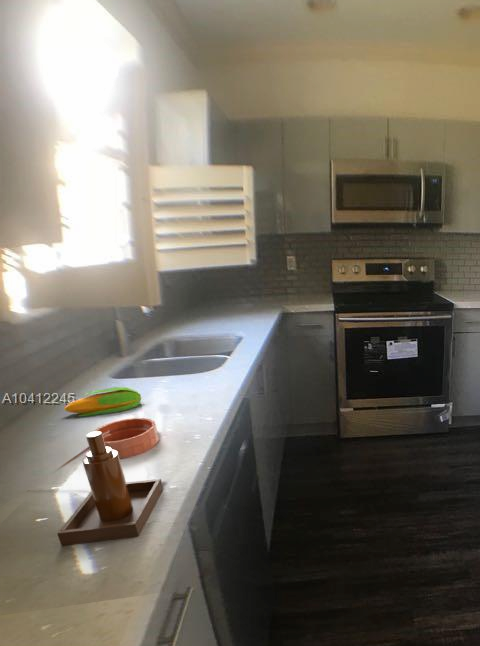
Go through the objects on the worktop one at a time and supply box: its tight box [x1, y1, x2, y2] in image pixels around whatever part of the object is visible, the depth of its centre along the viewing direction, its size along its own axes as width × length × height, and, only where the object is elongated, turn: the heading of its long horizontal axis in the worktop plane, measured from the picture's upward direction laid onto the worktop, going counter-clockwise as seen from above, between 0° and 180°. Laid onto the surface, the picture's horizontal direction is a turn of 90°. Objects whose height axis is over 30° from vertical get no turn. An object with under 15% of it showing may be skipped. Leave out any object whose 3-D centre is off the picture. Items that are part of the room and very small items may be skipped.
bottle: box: [81, 431, 133, 521], centre depth 84 cm, size 6×6×16 cm
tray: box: [56, 478, 164, 547], centre depth 87 cm, size 16×13×3 cm
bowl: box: [92, 417, 160, 460], centre depth 113 cm, size 14×14×5 cm
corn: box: [64, 386, 142, 418], centre depth 135 cm, size 7×8×20 cm
